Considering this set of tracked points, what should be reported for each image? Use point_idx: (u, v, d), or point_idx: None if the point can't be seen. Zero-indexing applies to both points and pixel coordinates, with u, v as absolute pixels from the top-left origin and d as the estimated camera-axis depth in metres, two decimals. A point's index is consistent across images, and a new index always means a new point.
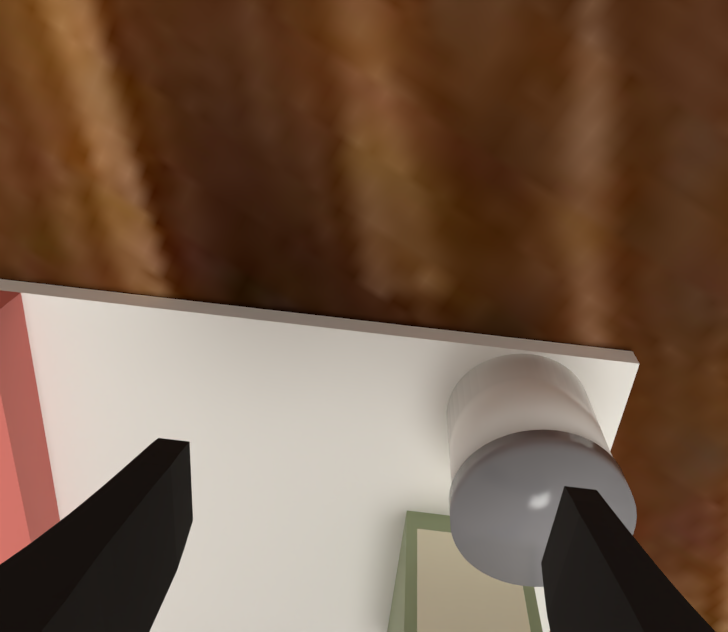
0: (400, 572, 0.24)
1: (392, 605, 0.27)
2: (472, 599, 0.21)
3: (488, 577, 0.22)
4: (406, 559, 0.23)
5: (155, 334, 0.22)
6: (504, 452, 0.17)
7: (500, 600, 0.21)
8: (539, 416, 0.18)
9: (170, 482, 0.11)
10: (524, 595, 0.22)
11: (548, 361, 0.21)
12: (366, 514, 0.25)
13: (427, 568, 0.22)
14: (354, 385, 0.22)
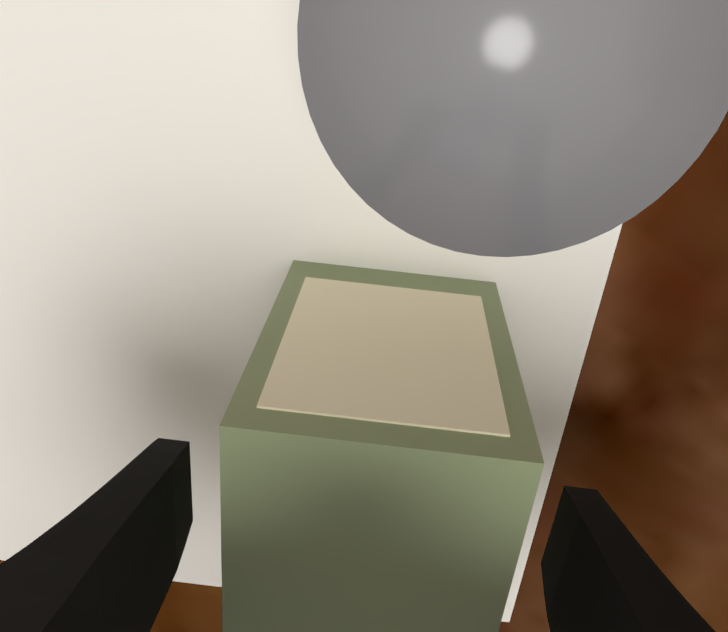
0: None
1: None
2: (389, 356, 0.11)
3: (425, 332, 0.12)
4: (273, 308, 0.12)
5: None
6: None
7: (445, 360, 0.11)
8: None
9: (170, 482, 0.11)
10: (493, 357, 0.11)
11: None
12: (224, 270, 0.14)
13: (309, 317, 0.12)
14: None
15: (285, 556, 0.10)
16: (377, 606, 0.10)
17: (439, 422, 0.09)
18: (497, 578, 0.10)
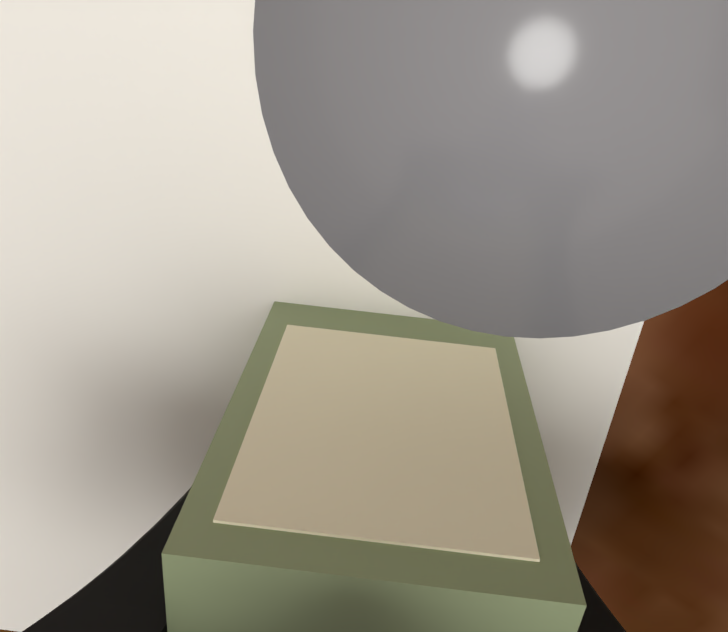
0: None
1: None
2: (385, 438, 0.09)
3: (430, 401, 0.10)
4: (246, 369, 0.10)
5: None
6: None
7: (454, 442, 0.09)
8: None
9: None
10: (512, 436, 0.09)
11: None
12: (194, 312, 0.12)
13: (288, 382, 0.10)
14: None
15: None
16: None
17: (447, 539, 0.07)
18: None
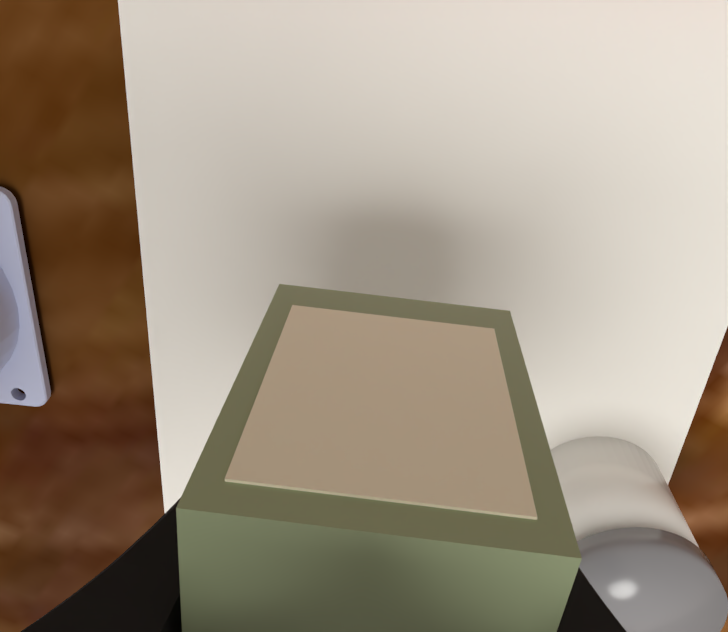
0: None
1: None
2: (388, 408, 0.09)
3: (431, 376, 0.10)
4: (253, 345, 0.10)
5: None
6: None
7: (455, 412, 0.09)
8: None
9: None
10: (511, 408, 0.09)
11: None
12: None
13: (294, 357, 0.10)
14: (645, 354, 0.20)
15: None
16: None
17: (450, 499, 0.08)
18: None
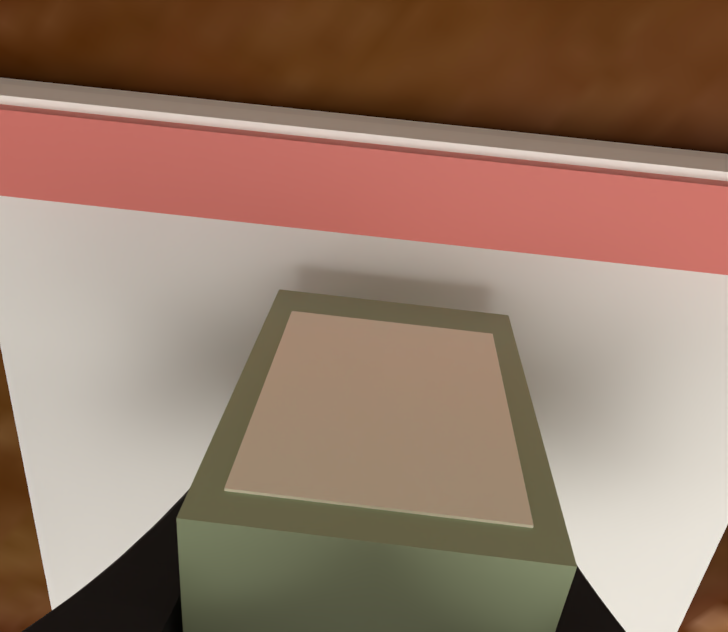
0: None
1: None
2: (386, 416, 0.09)
3: (429, 382, 0.10)
4: (253, 352, 0.10)
5: (725, 429, 0.15)
6: None
7: (452, 419, 0.09)
8: None
9: None
10: (509, 414, 0.09)
11: None
12: None
13: (293, 364, 0.10)
14: None
15: None
16: None
17: (447, 507, 0.08)
18: None
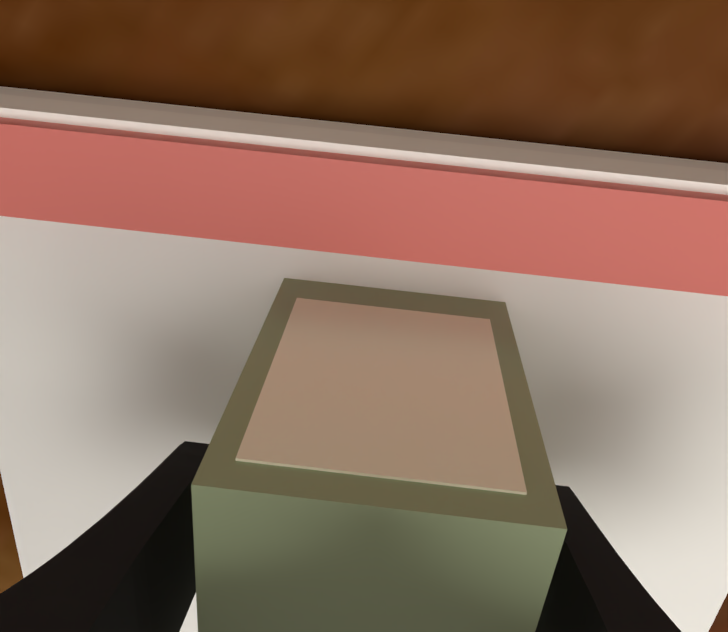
0: None
1: None
2: (388, 394, 0.10)
3: (429, 363, 0.10)
4: (260, 335, 0.11)
5: None
6: None
7: (451, 397, 0.10)
8: None
9: None
10: (504, 393, 0.10)
11: None
12: None
13: (299, 346, 0.11)
14: None
15: (270, 624, 0.09)
16: None
17: (446, 476, 0.08)
18: None
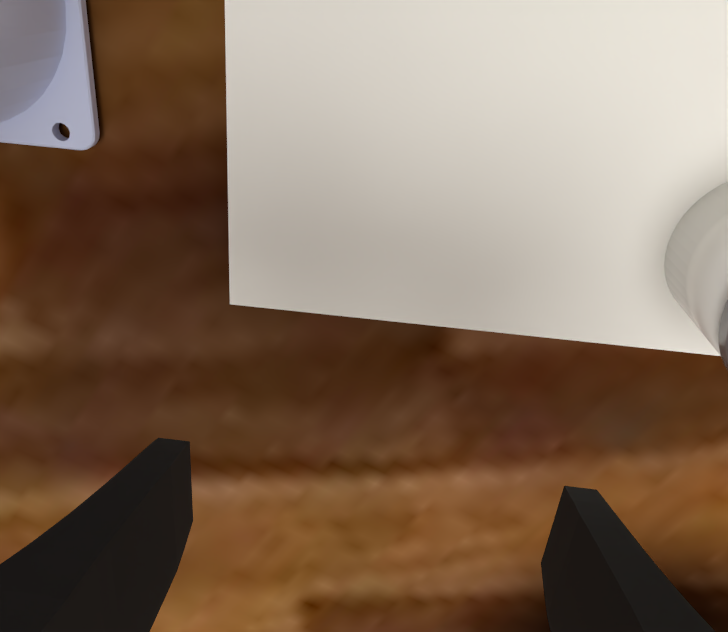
0: None
1: None
2: None
3: None
4: None
5: None
6: None
7: None
8: None
9: (170, 482, 0.11)
10: None
11: None
12: (604, 64, 0.17)
13: None
14: None
15: None
16: None
17: None
18: None
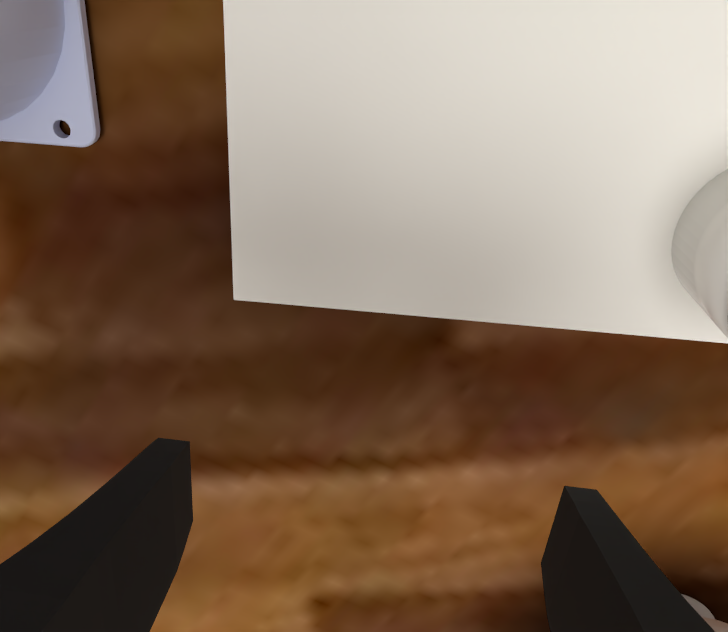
0: None
1: None
2: None
3: None
4: None
5: None
6: None
7: None
8: None
9: (170, 482, 0.11)
10: None
11: None
12: (606, 49, 0.17)
13: None
14: None
15: None
16: None
17: None
18: None
